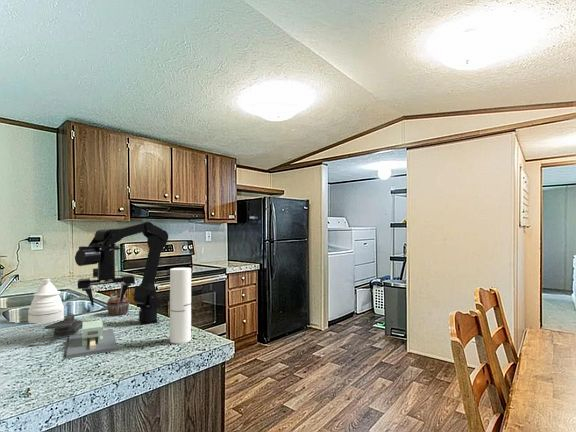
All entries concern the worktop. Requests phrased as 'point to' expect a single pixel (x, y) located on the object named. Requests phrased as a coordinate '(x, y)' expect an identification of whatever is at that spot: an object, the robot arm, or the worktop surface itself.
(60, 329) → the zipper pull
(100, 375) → the worktop surface
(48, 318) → the honey pot
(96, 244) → the robot arm
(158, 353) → the worktop surface
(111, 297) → the cupcake
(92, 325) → the cabinet block
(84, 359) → the worktop surface
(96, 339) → the cleat board
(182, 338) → the cylindrical container
